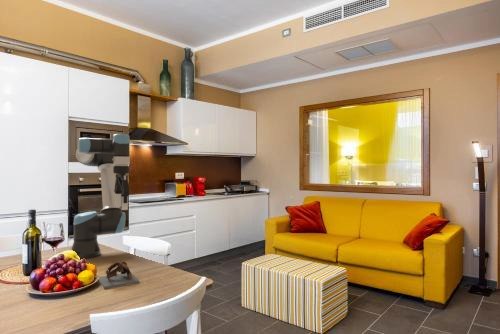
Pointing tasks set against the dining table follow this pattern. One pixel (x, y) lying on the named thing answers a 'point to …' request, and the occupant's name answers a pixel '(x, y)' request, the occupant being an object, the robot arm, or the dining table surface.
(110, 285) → the slate mat
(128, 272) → the brown arch piece
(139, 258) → the dining table surface
